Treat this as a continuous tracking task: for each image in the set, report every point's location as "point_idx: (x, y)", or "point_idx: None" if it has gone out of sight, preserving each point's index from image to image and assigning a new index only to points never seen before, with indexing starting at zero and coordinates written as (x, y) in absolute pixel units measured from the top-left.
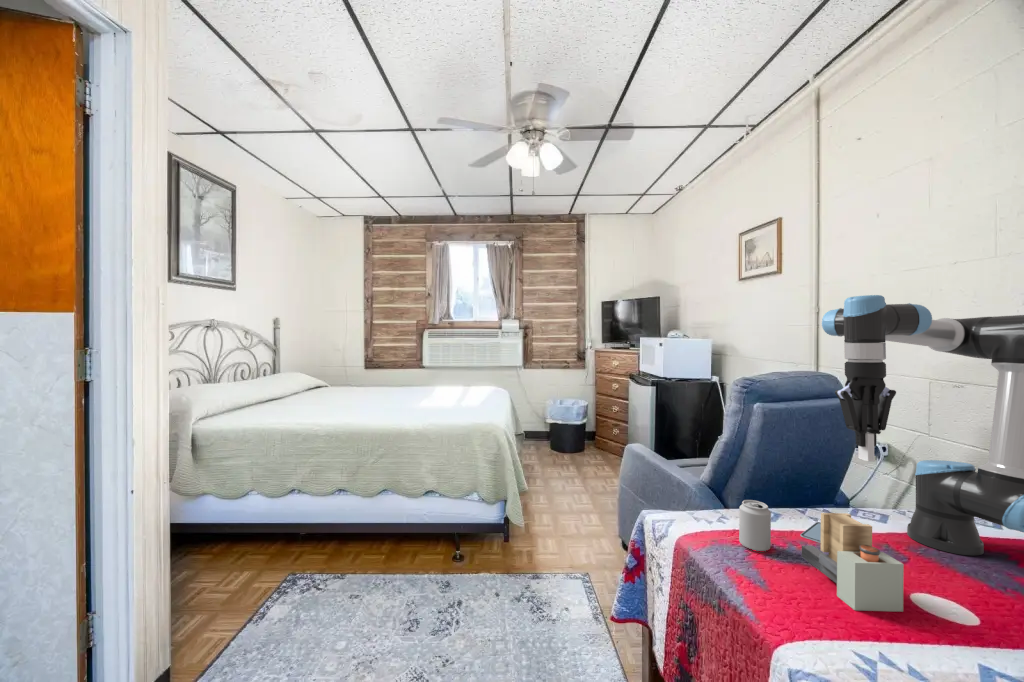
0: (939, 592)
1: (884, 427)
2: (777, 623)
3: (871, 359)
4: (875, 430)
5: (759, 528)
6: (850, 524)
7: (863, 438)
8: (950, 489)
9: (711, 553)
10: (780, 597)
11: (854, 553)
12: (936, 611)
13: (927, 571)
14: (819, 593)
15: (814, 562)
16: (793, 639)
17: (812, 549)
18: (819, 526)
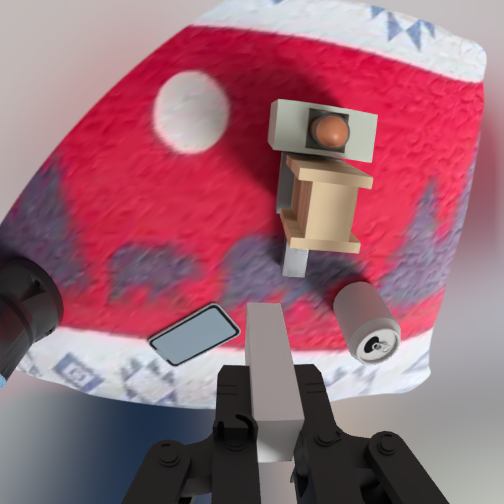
0: (152, 154)
1: (159, 457)
2: (466, 112)
3: None
4: (243, 442)
5: (379, 303)
6: (348, 182)
7: (308, 403)
8: None
9: (433, 279)
10: (428, 159)
11: (340, 152)
12: (212, 102)
13: (113, 216)
14: None
15: None
16: (466, 84)
17: (296, 263)
18: (182, 355)
